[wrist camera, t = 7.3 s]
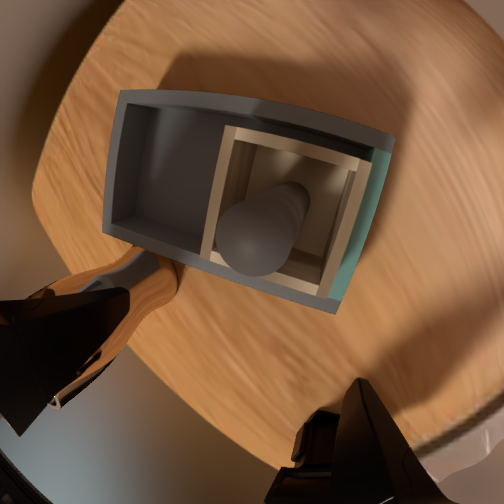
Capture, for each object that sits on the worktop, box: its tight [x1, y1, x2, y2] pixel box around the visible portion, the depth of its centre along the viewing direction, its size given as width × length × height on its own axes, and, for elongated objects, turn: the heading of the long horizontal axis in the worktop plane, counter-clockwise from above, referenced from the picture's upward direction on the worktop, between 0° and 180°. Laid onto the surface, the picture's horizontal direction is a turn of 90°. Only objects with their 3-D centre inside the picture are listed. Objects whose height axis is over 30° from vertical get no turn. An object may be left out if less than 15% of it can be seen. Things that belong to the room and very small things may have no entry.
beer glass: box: [25, 246, 178, 410], centre depth 17 cm, size 7×7×15 cm
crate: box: [200, 125, 372, 299], centre depth 13 cm, size 7×7×10 cm
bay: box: [102, 89, 396, 315], centre depth 17 cm, size 18×11×4 cm, turn 78°
